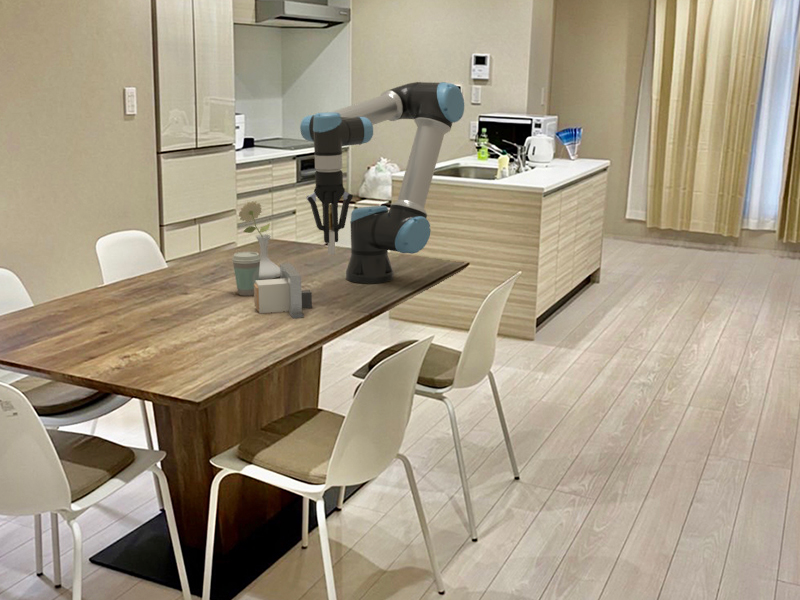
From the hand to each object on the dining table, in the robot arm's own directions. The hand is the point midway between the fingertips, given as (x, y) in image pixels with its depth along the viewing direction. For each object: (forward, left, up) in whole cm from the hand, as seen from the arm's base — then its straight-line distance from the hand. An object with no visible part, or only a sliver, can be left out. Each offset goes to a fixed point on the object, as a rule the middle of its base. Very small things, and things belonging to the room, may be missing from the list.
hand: (331, 253), depth 250 cm
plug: (+14, 0, -15) cm, 21 cm away
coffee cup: (+21, -20, -15) cm, 33 cm away
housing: (+12, 0, -15) cm, 19 cm away
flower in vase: (+14, -38, -15) cm, 43 cm away
